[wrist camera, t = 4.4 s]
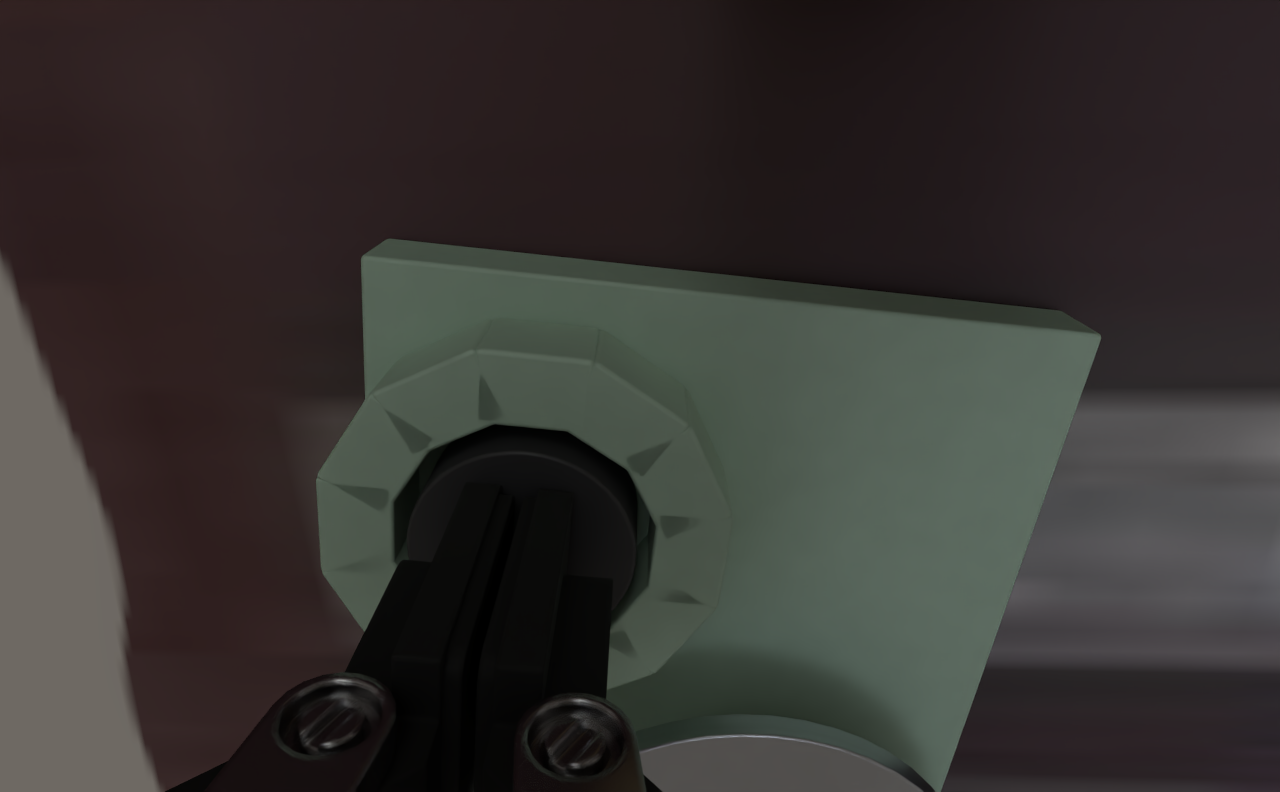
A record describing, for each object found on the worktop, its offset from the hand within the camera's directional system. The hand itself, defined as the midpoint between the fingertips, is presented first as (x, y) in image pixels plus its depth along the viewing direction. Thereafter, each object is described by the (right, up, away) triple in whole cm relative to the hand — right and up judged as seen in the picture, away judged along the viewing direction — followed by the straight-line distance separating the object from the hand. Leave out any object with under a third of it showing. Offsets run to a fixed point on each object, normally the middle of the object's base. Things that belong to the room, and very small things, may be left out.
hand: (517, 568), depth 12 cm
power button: (0, +1, +1) cm, 2 cm away
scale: (+3, -3, +5) cm, 6 cm away
